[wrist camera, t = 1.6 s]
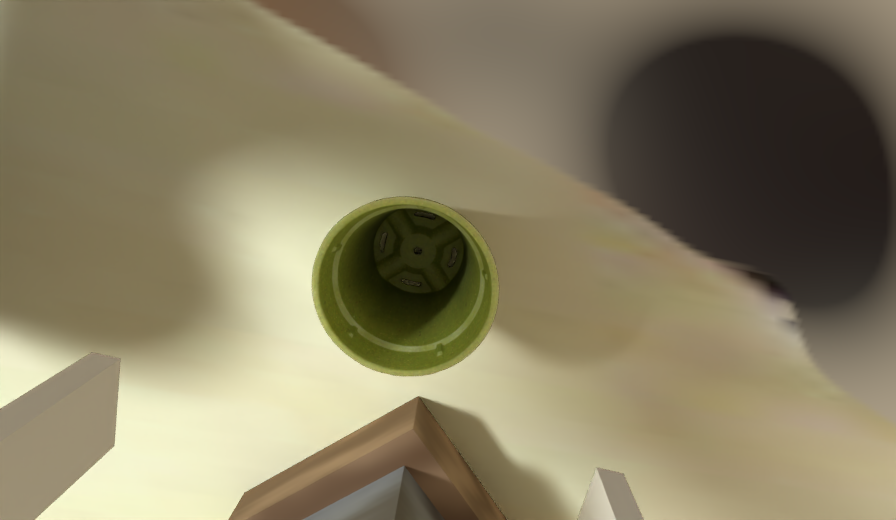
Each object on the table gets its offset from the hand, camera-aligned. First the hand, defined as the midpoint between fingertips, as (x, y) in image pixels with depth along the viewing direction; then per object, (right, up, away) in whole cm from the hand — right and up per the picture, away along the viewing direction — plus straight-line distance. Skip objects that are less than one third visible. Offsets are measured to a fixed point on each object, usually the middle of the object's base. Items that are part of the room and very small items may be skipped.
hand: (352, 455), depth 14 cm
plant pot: (+1, +6, +20) cm, 21 cm away
